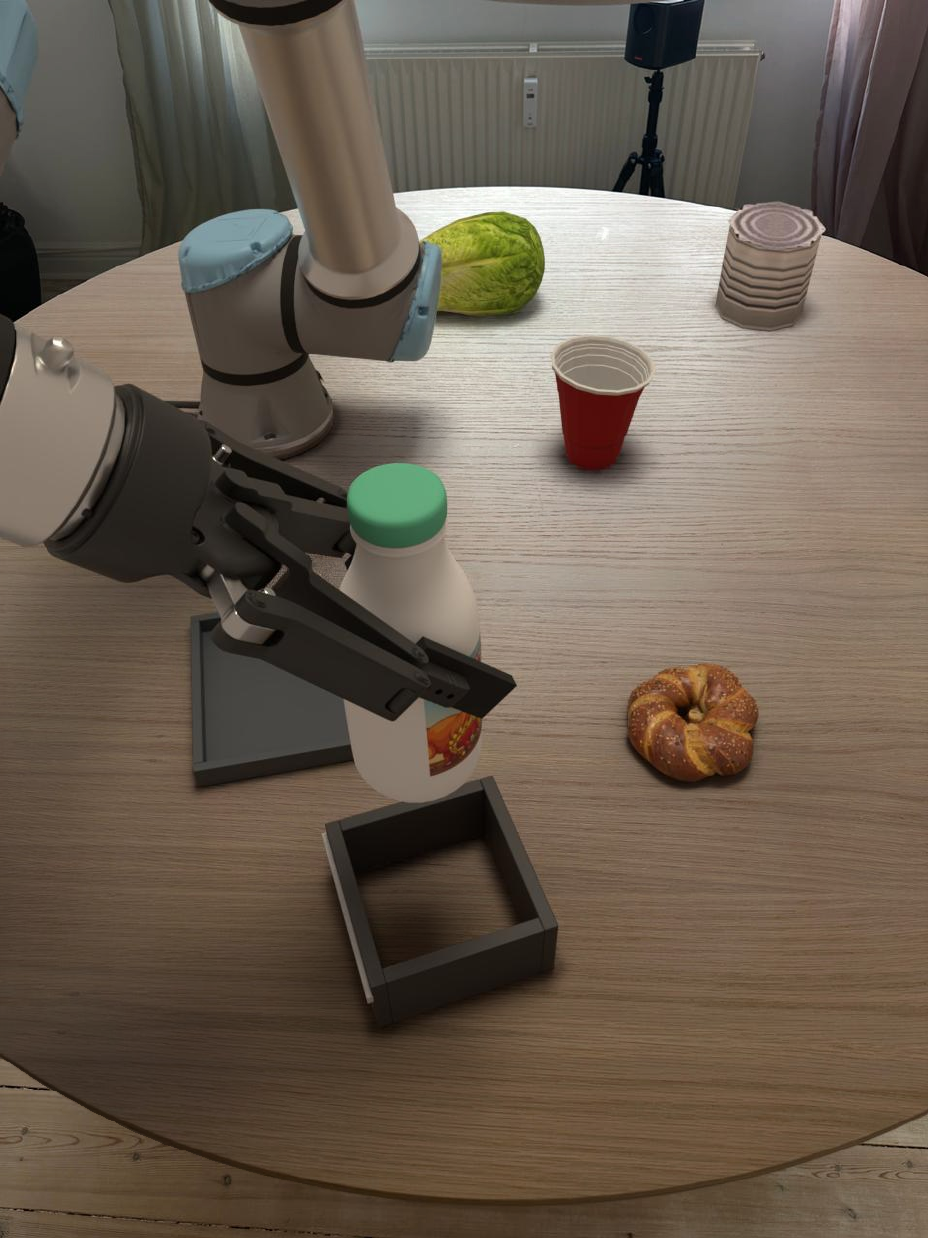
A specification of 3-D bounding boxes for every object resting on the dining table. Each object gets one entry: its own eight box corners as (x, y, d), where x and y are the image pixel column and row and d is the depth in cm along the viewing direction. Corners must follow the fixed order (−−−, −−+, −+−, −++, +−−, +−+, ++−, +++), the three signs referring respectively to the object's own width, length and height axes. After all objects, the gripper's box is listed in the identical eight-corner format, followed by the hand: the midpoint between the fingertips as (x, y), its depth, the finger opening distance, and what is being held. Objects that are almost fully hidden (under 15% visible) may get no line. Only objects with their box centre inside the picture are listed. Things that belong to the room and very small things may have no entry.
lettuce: (373, 239, 134) (364, 222, 121) (532, 212, 134) (540, 192, 120) (390, 336, 137) (382, 330, 124) (546, 310, 137) (555, 301, 123)
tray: (195, 631, 90) (190, 615, 89) (384, 602, 93) (382, 586, 91) (198, 787, 78) (192, 771, 77) (416, 749, 81) (414, 733, 79)
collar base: (329, 869, 73) (319, 824, 69) (491, 820, 76) (492, 774, 71) (373, 1030, 64) (365, 991, 60) (554, 968, 67) (559, 926, 63)
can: (813, 302, 132) (836, 213, 123) (784, 339, 125) (806, 248, 117) (733, 282, 136) (749, 194, 128) (701, 317, 130) (716, 227, 121)
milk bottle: (386, 828, 55) (351, 567, 41) (333, 732, 60) (286, 469, 46) (505, 774, 58) (511, 510, 43) (445, 686, 63) (434, 422, 48)
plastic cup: (639, 491, 104) (653, 392, 95) (538, 479, 106) (542, 381, 97) (646, 432, 111) (660, 336, 103) (552, 422, 113) (557, 327, 104)
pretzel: (657, 658, 87) (662, 629, 84) (777, 705, 83) (786, 676, 80) (600, 753, 80) (604, 725, 77) (728, 810, 76) (737, 782, 73)
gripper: (162, 564, 30) (596, 741, 45) (106, 272, 44) (455, 483, 59) (39, 717, 33) (488, 836, 48) (23, 397, 47) (377, 568, 62)
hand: (469, 641), depth 54 cm, fingers closed on milk bottle, 8 cm apart
